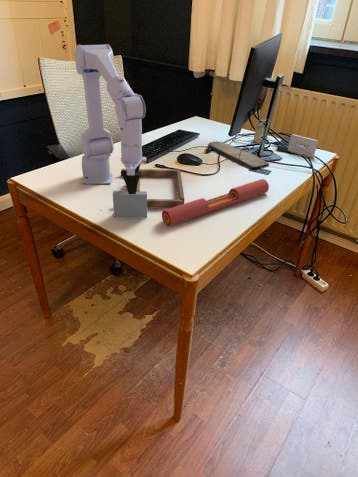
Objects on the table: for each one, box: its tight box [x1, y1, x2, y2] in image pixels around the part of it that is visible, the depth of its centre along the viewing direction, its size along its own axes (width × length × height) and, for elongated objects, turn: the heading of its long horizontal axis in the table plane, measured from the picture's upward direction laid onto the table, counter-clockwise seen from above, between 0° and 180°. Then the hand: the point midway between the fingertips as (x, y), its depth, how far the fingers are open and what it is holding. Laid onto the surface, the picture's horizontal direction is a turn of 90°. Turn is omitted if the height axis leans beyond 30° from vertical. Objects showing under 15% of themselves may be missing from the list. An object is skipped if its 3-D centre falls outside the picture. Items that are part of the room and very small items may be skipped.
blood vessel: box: [161, 178, 270, 227], centre depth 116 cm, size 42×5×5 cm, turn 126°
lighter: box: [253, 118, 267, 143], centre depth 168 cm, size 7×4×10 cm, turn 135°
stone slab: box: [207, 140, 270, 170], centre depth 154 cm, size 10×3×30 cm
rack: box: [121, 168, 185, 209], centre depth 123 cm, size 22×24×3 cm
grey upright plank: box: [112, 190, 148, 219], centre depth 107 cm, size 2×10×8 cm, turn 94°
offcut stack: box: [137, 178, 141, 191], centre depth 123 cm, size 4×10×4 cm, turn 4°
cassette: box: [287, 133, 319, 158], centre depth 157 cm, size 12×2×8 cm, turn 53°
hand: (132, 187), depth 105 cm, fingers open, 7 cm apart
